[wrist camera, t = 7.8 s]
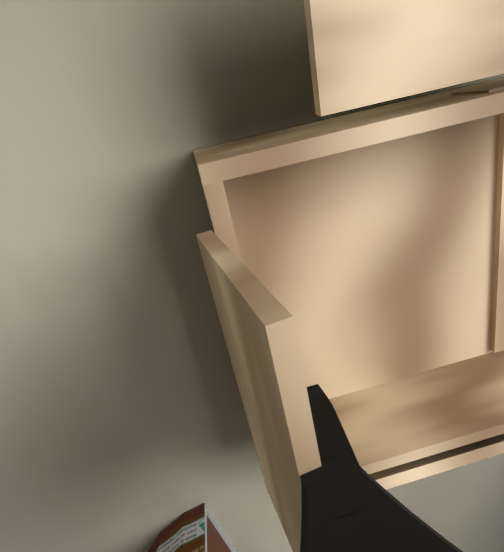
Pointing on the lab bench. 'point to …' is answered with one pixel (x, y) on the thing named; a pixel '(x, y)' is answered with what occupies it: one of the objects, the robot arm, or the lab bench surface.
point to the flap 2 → (399, 48)
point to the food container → (193, 534)
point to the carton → (384, 267)
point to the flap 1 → (265, 378)
